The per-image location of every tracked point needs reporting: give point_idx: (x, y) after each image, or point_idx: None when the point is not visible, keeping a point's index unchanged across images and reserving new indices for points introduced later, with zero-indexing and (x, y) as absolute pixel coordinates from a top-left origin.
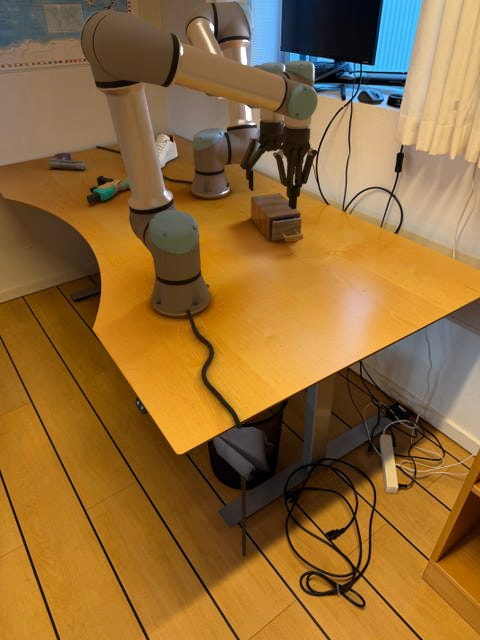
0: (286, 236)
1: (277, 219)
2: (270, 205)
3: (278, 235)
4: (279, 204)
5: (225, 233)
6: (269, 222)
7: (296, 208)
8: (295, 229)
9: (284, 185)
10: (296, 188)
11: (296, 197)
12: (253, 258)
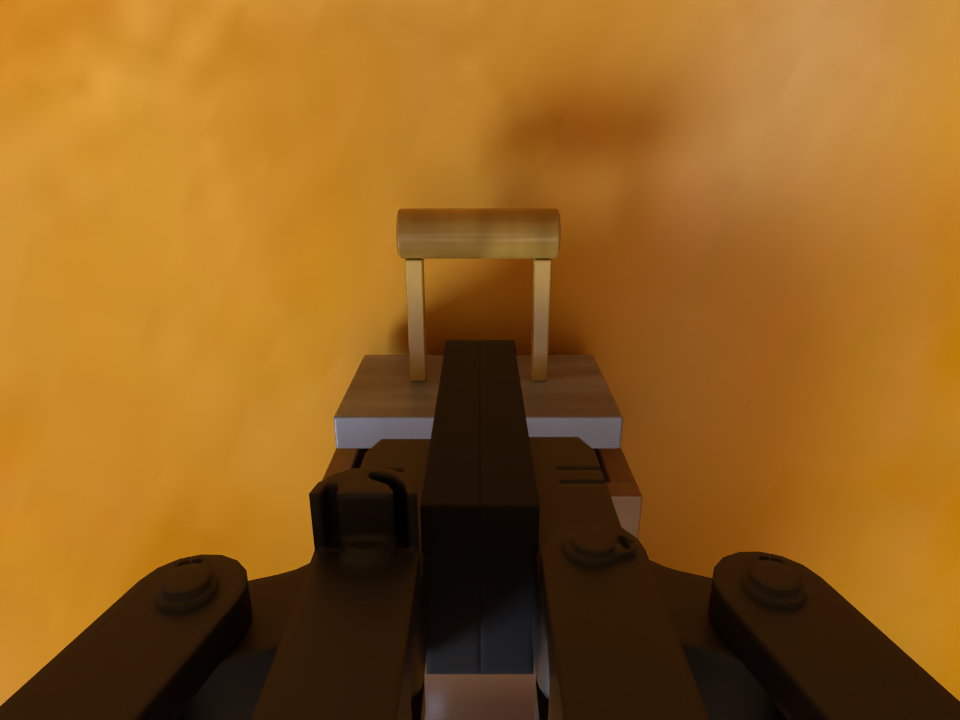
0: (550, 241)
1: None
2: (522, 702)
3: (554, 366)
4: (438, 698)
5: (827, 576)
6: (627, 468)
7: (446, 340)
8: (402, 378)
9: (796, 573)
10: (451, 499)
11: (449, 406)
12: (833, 166)
